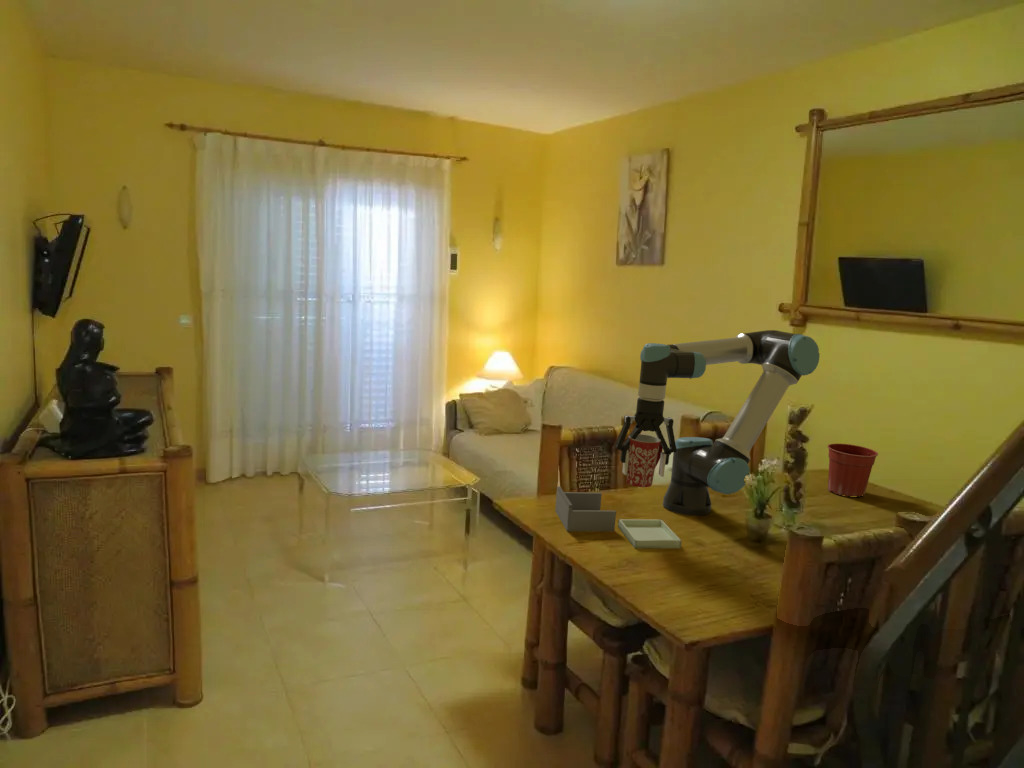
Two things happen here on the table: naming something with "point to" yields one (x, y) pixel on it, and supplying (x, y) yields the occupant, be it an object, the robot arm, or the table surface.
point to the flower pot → (849, 469)
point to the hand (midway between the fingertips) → (642, 474)
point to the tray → (649, 533)
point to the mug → (643, 460)
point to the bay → (583, 512)
